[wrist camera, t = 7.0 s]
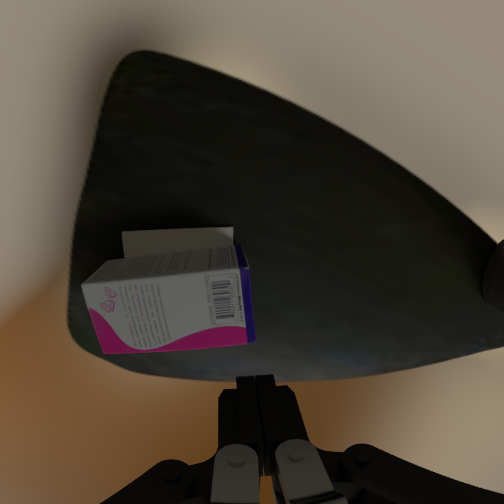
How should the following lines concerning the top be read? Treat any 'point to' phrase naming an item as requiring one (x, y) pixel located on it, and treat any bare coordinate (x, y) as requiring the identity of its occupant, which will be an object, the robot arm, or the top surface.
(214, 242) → the mat
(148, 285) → the supplement box
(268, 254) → the top surface
